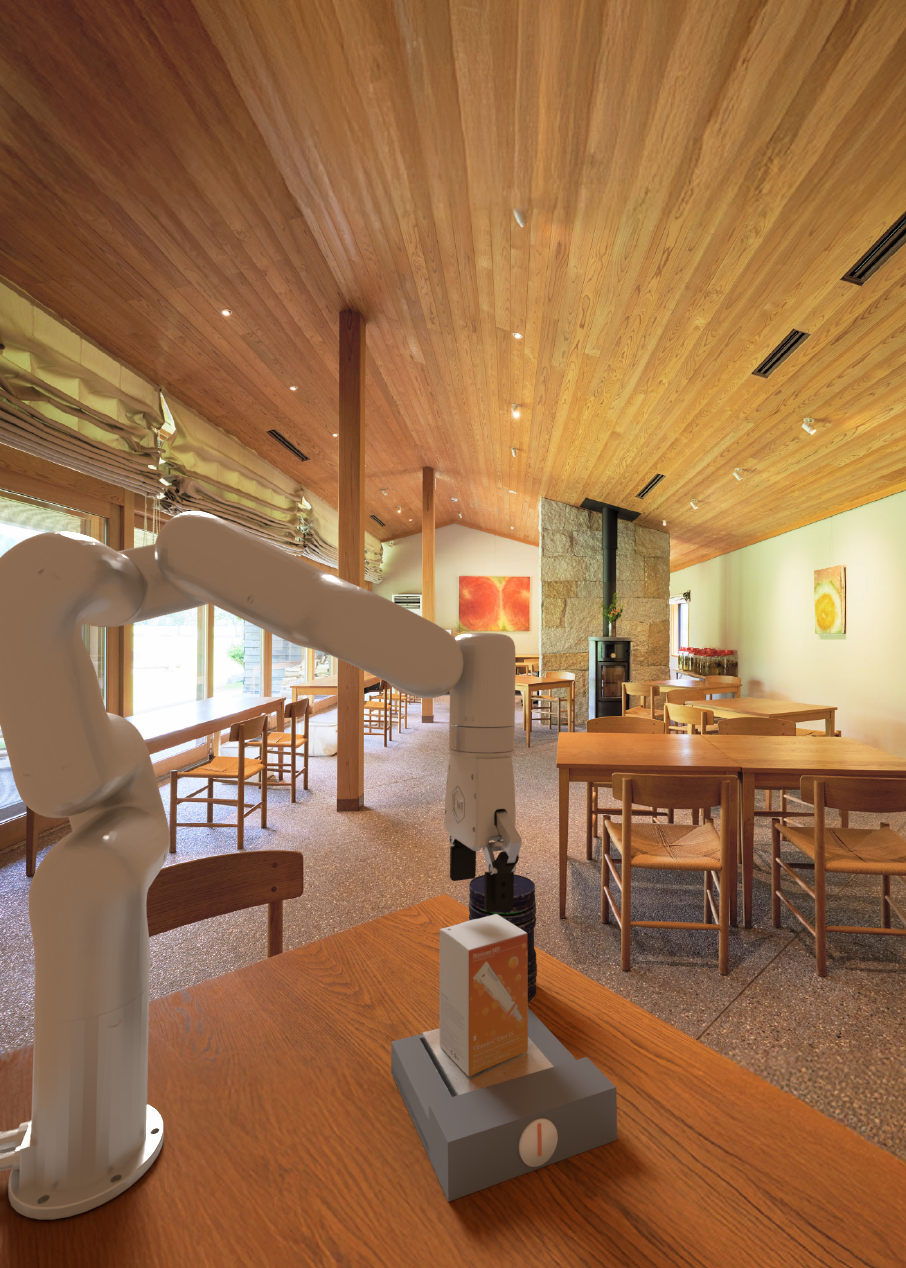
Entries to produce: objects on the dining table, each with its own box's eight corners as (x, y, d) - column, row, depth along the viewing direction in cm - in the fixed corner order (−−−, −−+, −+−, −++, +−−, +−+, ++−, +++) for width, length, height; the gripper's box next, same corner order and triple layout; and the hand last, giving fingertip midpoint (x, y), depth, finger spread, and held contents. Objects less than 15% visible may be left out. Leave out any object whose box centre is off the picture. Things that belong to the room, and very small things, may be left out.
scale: (450, 1206, 52) (450, 1146, 52) (391, 1072, 69) (391, 1027, 69) (620, 1143, 58) (619, 1090, 59) (528, 1035, 76) (527, 995, 76)
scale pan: (458, 1126, 59) (458, 1095, 59) (422, 1059, 69) (422, 1032, 70) (554, 1095, 63) (553, 1066, 63) (507, 1036, 73) (506, 1011, 74)
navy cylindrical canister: (551, 998, 84) (549, 890, 85) (490, 1016, 80) (489, 902, 81) (514, 966, 93) (513, 869, 94) (457, 980, 89) (457, 878, 90)
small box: (468, 1079, 62) (467, 950, 62) (438, 1046, 67) (437, 927, 68) (530, 1052, 66) (528, 931, 66) (496, 1023, 71) (495, 911, 72)
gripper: (425, 733, 75) (423, 872, 74) (483, 752, 59) (481, 929, 58) (480, 732, 78) (478, 866, 77) (549, 749, 62) (548, 919, 61)
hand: (479, 893), depth 67 cm, fingers open, 9 cm apart
